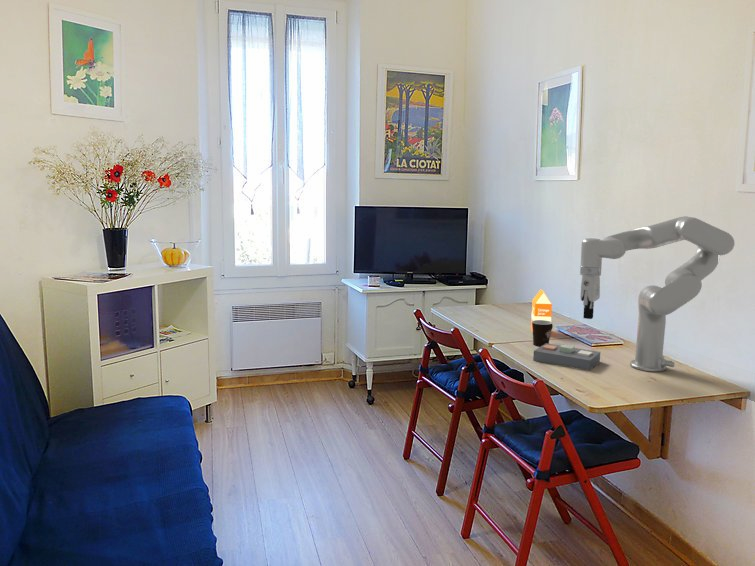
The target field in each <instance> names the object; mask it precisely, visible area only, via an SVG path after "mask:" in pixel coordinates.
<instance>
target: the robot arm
mask: <svg viewBox="0 0 755 566" xmlns="http://www.w3.org/2000/svg"><path fill="white" fill-rule="evenodd" d="M681 241H687V242H689V243H691V244H693V245H695V246H697V250H696V253H695V254H694V255H693V256H692V257H691V258H689V259H688V260H687V261H686V262H685V263H683V264H682V265H679V267H677V268H676V269H674V270H673V271H671V272H670V273H668V275H666V276H665V279H664V286H663V287H660V286H658V285H647V286H646V287H643V289H641V291H639V294H638V301H637V302H638V303H637V304H638V305H637V307H638V320H637V321H638V322H637V332H636V343H635V356H634V359H633V360H630V363H629V365H630V366H631V367H632V368H634V369H637V370H640V371H645V372H657V373H658V372H663V371H665V370H666V369H667V367H668V368H669V367H671V368H675V366H676V365H675V362H674V361H673V360H668V359H666V358H665V355H663V354H664V344H665V335H666V334H665V333H666V324H667V321H666V316H668V315H670V314H672V313H674V312H676V311H677V310H678V309H680V308H682V307H683V306H684V305H685V304H687V303H689V302H690V301H692V300H693V299H694V298H696V297H697V296H698V295H699V294H700V292H701V290H702V285H703V284H702V281H703V280H704V279H706V277H708V276H709V275H711V274H712V273H713V272H714V271H715V270H716V268H717V267H718V264H719V262H718V255H720V256H724V255H727V254H729V253H731V252H733V250H734V247H735V238H734V237H733V236H732V235H731V234H730V233H729V232H727V231H725V230H723V229H720V228H718V227H716V226H714V225H711V224H709V223H707V222H705V221H704V220H701V219H700V218H696V217H691V216H679V217H676V218H672V219H669V220H666V221H662V222H659V223H655V224H651V225H648V226H644V227H640V228H636V229H631V230H627V231H623V232H622V231H621V232H619V233H615V234H612V235H609V236H606V237H603V239H600V238H590V237H589V238H583V239H582V242H581V247H580V248H581V249H580V251H581V253H580V267H579V268H580V270H579V275H580V276H581V284H580V294H579V295H580V301H582V302H583V303H582V305H583V319H585V320H586V319H587V320H592V319H593V318H594V307H595V302H596V301H598V300H599V299H600V298H601V278H600V277H601V276H602V263H603V262H602V261H603V258H604V259H611V260H617V259H618V260H619V259H621V258H622V257H624V255H625V254H626V252H628V251H632V250H639V249H640V250H641V249H644V250H647V249H650V250H651V249H655V248H660V247H664V246H667V245H671V244H673V243H678V242H681Z"/></svg>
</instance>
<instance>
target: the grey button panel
mask: <svg viewBox="0 0 755 566" xmlns="http://www.w3.org/2000/svg"><path fill="white" fill-rule="evenodd" d="M545 345H552V346H557V349H556V350H554V351H551V350H545V349H542V348H543V346H545ZM560 346H561V345H560V344H559V345H558V344H553V343H549V344H548V343H546V344H544V345H542V346H541V347H540V346H538V348H535V350H533V357H532V358H533V360H532V361H535V362H539V363H545V364H551V365H555V366H556V365H557V366H563V367H566V368H573V369H577V370H578V369H579V370H582V371H583V370H584V371H591V370H592V369H594V367H596V366H597V365H598V364H599V363H600V362H601V351H597V350H590V349H584V348H578V347H575V349H574V352H573V353H572V354H569V353H563V352H560ZM581 350H583V351H589V352H592V355H591V356H590V357H587V356H581V355H578V352H579V351H581Z"/></svg>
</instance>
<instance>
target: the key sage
mask: <svg viewBox="0 0 755 566" xmlns="http://www.w3.org/2000/svg"><path fill="white" fill-rule="evenodd" d="M575 348H576V346H575V345H571V344H570V345H568V344H562V345H560V352H563V353H569V354H572V353H573V352H574V349H575Z"/></svg>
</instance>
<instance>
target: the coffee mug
mask: <svg viewBox="0 0 755 566" xmlns="http://www.w3.org/2000/svg"><path fill="white" fill-rule="evenodd" d="M553 327H554V325H553V321H551V322H550V321H546V320H534V321H532V331H533V332H532V331H531V332H532V340H533V341H532V342H533V343H532V345H534V346H536V347H541V346H542V345H544V344H546V343H548V344H550V339H551V334H552V330H553Z"/></svg>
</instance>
